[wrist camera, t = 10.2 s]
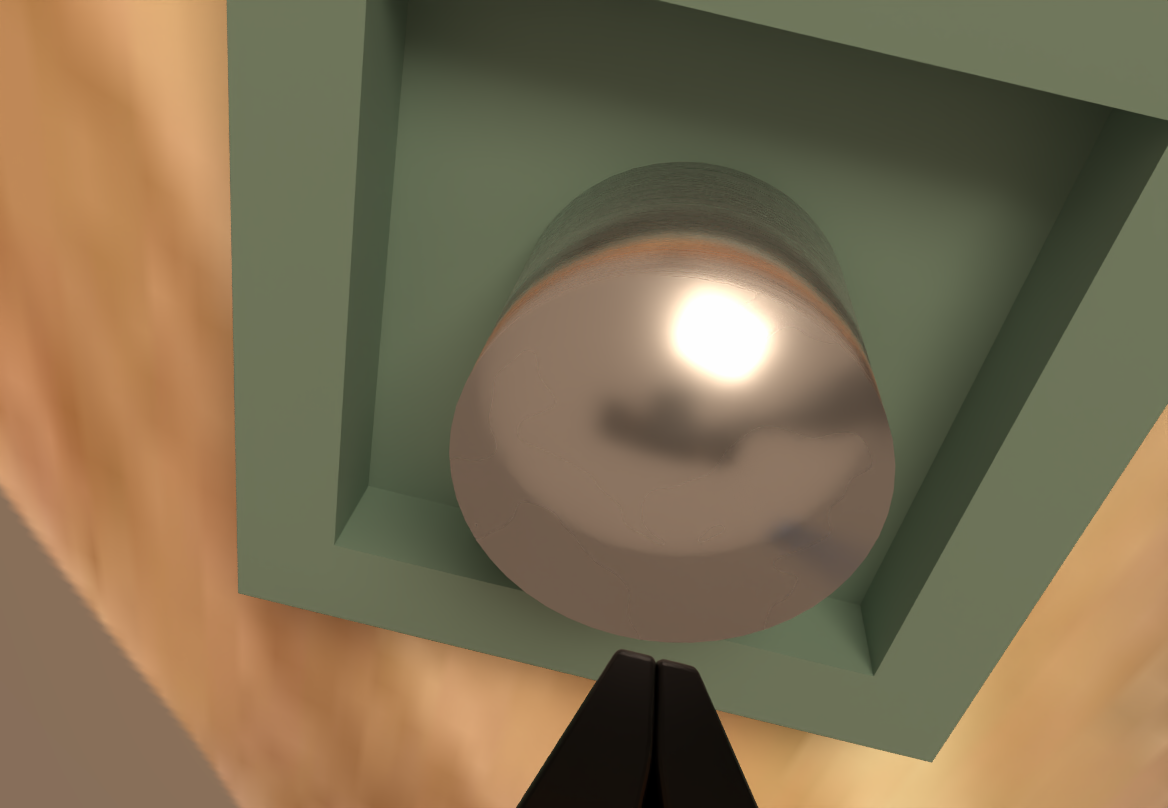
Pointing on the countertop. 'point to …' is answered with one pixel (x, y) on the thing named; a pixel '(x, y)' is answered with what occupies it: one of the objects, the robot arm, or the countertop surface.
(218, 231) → the countertop surface
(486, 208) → the socket frame
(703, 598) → the silver rounded cylinder
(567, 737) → the robot arm
